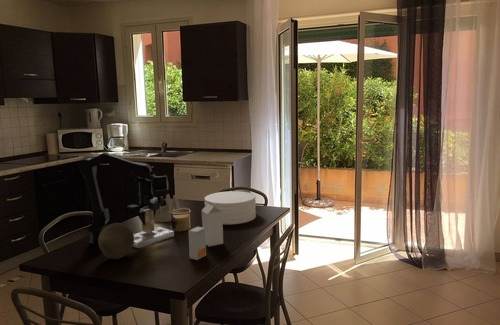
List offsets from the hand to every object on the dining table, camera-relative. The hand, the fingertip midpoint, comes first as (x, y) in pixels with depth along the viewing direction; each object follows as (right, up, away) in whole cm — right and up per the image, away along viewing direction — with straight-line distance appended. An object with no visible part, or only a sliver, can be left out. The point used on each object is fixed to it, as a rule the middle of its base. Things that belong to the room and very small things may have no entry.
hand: (147, 223), depth 185 cm
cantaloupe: (-7, -11, -22) cm, 25 cm away
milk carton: (+31, -8, -6) cm, 33 cm away
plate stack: (+37, -2, +35) cm, 51 cm away
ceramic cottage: (+1, -3, +37) cm, 37 cm away
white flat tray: (0, -8, +1) cm, 8 cm away
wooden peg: (0, -3, +1) cm, 4 cm away
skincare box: (+26, -11, -22) cm, 36 cm away
